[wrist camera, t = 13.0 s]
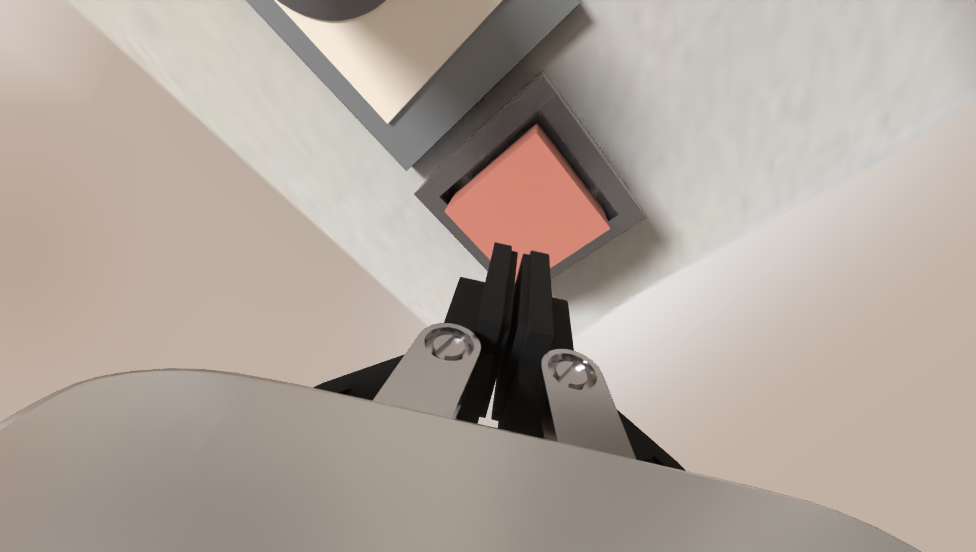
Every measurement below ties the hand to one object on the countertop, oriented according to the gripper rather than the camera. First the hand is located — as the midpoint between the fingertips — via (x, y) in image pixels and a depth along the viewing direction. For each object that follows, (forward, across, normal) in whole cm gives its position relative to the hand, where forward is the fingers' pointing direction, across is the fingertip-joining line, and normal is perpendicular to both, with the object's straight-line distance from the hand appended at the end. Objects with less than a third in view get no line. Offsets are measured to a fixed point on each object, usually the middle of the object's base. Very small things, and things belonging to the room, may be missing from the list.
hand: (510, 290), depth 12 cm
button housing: (+9, 0, -1) cm, 9 cm away
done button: (+6, 0, -1) cm, 6 cm away
